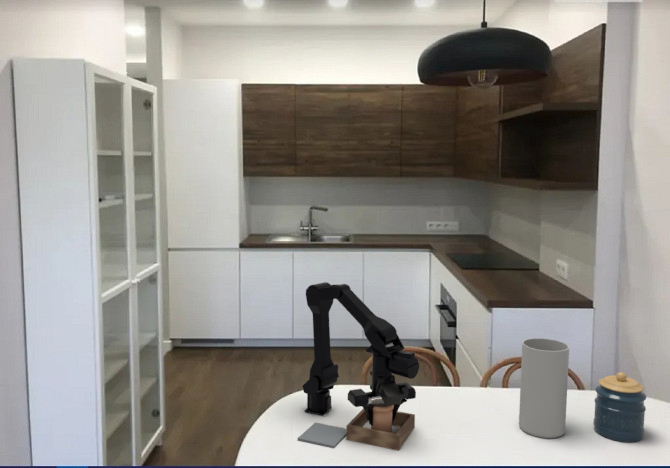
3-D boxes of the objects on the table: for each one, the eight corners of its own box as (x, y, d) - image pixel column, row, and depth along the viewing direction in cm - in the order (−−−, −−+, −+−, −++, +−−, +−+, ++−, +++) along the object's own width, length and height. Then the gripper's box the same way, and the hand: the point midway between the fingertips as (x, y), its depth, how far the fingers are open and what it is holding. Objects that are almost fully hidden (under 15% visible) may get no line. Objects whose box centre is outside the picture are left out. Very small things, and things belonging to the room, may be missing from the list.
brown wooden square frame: (346, 439, 158) (346, 425, 157) (365, 418, 171) (366, 405, 171) (398, 450, 152) (398, 436, 151) (414, 427, 165) (414, 414, 165)
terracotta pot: (365, 433, 160) (366, 405, 159) (374, 423, 166) (374, 396, 165) (388, 437, 157) (389, 409, 156) (396, 428, 163) (397, 400, 162)
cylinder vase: (522, 416, 173) (525, 336, 171) (566, 425, 168) (570, 341, 165) (515, 433, 162) (519, 347, 159) (563, 442, 157) (567, 353, 154)
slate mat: (297, 440, 157) (297, 438, 157) (315, 424, 167) (315, 422, 167) (334, 448, 153) (334, 446, 153) (350, 431, 163) (350, 429, 163)
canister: (639, 426, 167) (643, 367, 165) (647, 446, 155) (652, 383, 153) (591, 420, 171) (594, 362, 170) (595, 438, 159) (598, 377, 157)
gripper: (363, 383, 149) (362, 441, 150) (426, 375, 155) (424, 430, 157) (347, 370, 159) (346, 424, 161) (406, 362, 166) (405, 414, 167)
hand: (381, 423), depth 161 cm, fingers closed on terracotta pot, 6 cm apart
